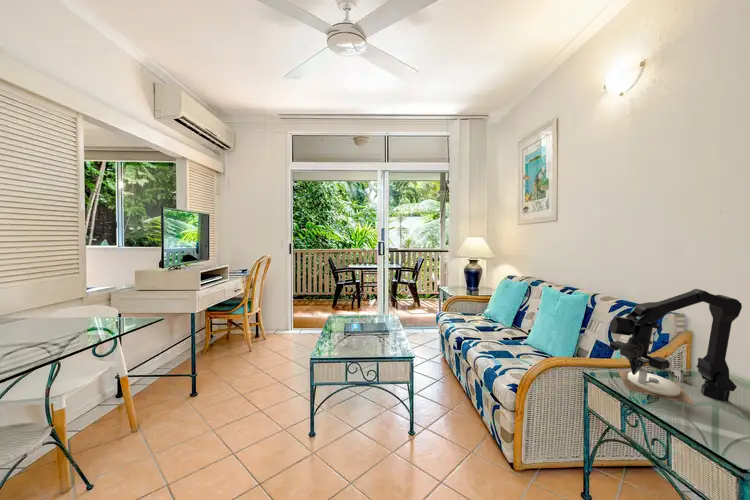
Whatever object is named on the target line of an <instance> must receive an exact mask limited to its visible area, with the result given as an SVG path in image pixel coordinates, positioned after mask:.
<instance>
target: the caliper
mask: <svg viewBox="0 0 750 500" xmlns="http://www.w3.org/2000/svg"><path fill="white" fill-rule="evenodd" d="M665 370H666V371H667V370H668V372H670V371H671V372H670V373H672V372H674V375H675V376H674V375H673V376H674V377H676V376H677V377H676V379H677V380H678V381H679V382H680V383H684V379H685V372H684V369H682V368H681V369H680V368H679V369H675V368H672V367H670V366H669V368H667V369H665Z"/></svg>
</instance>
